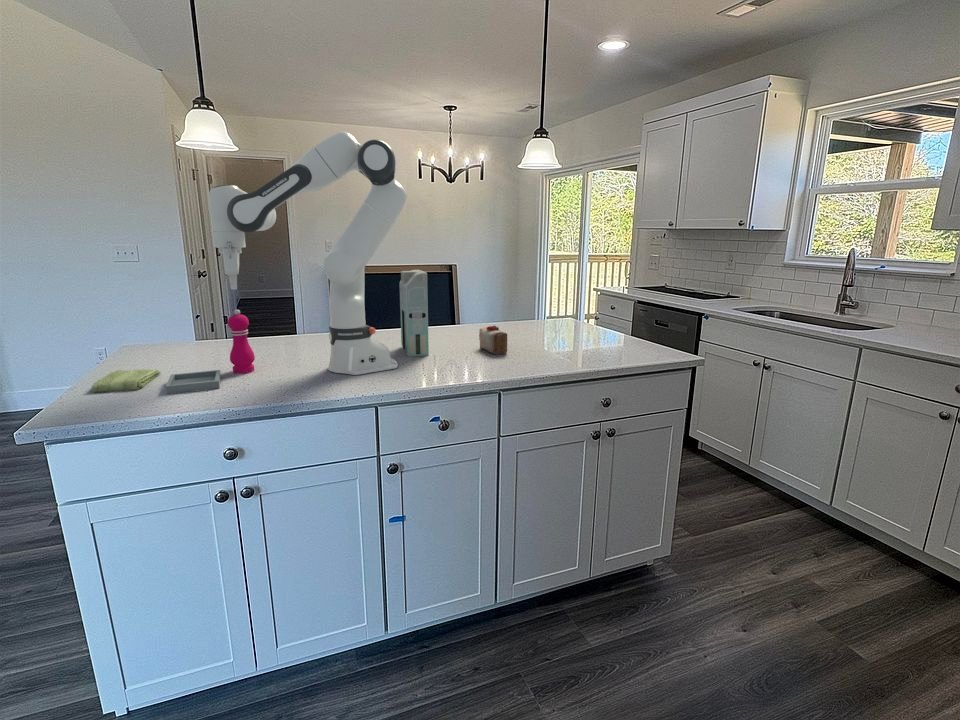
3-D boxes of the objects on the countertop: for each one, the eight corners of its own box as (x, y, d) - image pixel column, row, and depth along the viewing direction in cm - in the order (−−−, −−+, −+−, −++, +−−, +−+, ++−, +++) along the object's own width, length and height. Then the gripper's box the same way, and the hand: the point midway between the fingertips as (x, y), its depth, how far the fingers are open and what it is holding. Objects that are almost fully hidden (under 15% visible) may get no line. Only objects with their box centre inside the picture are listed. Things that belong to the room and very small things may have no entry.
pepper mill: (246, 374, 155) (239, 311, 150) (226, 373, 156) (218, 310, 152) (260, 368, 162) (254, 308, 157) (241, 367, 163) (234, 307, 158)
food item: (476, 348, 194) (476, 323, 192) (494, 346, 198) (494, 322, 195) (491, 355, 182) (492, 329, 180) (510, 353, 186) (511, 327, 183)
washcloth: (163, 375, 156) (161, 365, 155) (141, 391, 139) (139, 380, 139) (115, 377, 153) (113, 367, 152) (87, 395, 136) (85, 384, 135)
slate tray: (220, 376, 153) (220, 369, 152) (219, 388, 142) (218, 380, 141) (172, 381, 148) (171, 374, 147) (166, 394, 136) (165, 386, 136)
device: (401, 347, 195) (398, 269, 187) (420, 346, 197) (419, 269, 189) (407, 356, 179) (405, 273, 172) (428, 355, 182) (427, 273, 174)
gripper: (240, 242, 141) (245, 291, 145) (240, 241, 159) (245, 284, 163) (216, 242, 139) (221, 291, 142) (218, 240, 157) (223, 284, 160)
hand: (234, 287), depth 153 cm, fingers open, 8 cm apart
